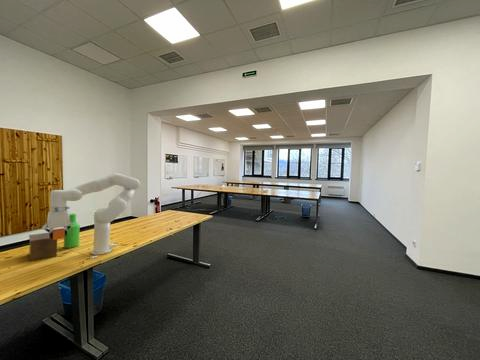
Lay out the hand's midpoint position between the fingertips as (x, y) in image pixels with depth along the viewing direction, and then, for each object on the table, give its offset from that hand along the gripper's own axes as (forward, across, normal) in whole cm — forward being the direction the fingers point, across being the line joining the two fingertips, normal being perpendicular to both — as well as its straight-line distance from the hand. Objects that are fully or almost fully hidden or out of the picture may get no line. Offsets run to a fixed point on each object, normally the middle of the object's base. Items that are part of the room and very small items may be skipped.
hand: (58, 237), depth 124 cm
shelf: (+15, +6, -18) cm, 24 cm away
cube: (+1, 0, 0) cm, 1 cm away
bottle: (+15, -10, -26) cm, 32 cm away
